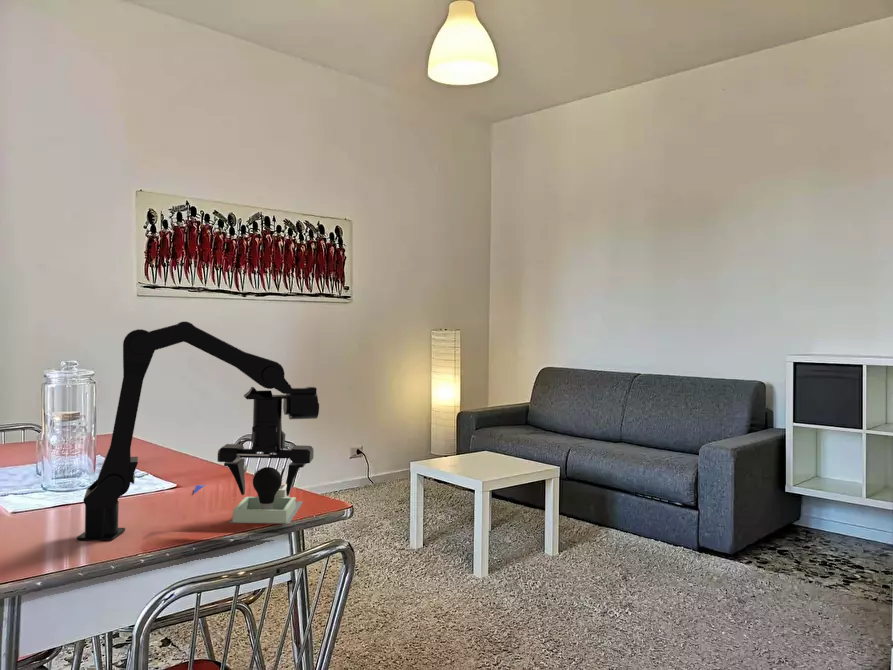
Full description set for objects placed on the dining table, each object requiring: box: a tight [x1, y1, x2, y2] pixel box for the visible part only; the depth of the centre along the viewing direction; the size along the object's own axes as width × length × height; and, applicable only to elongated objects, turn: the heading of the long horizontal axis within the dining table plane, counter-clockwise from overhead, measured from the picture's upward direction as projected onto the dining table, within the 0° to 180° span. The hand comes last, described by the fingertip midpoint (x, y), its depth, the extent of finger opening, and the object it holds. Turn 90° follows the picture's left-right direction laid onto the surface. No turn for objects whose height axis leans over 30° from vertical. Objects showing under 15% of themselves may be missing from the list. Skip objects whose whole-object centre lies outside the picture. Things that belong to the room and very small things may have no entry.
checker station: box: [228, 483, 304, 525], centre depth 147 cm, size 17×12×5 cm
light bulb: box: [252, 466, 283, 509], centre depth 144 cm, size 6×6×10 cm
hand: (265, 494), depth 144 cm, fingers open, 9 cm apart
